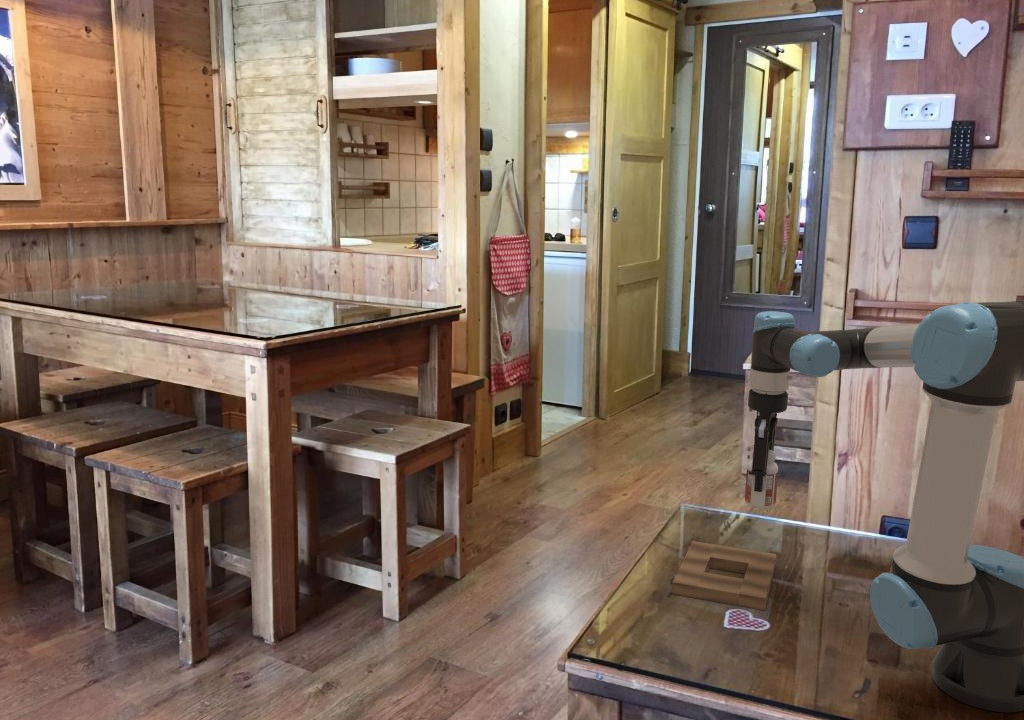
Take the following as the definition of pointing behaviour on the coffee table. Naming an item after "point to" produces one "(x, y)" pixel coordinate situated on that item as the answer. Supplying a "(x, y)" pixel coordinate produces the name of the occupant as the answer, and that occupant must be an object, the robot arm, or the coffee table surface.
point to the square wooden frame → (724, 588)
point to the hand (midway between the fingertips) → (759, 499)
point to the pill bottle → (770, 485)
